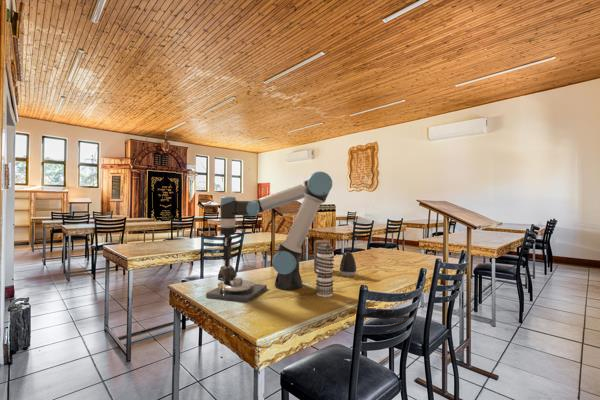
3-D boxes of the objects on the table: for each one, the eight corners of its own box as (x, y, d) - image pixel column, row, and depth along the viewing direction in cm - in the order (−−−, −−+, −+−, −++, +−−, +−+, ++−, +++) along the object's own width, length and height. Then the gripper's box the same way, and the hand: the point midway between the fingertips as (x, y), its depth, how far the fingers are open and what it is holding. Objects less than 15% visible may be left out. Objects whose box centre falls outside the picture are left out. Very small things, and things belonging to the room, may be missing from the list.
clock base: (266, 288, 156) (266, 275, 156) (247, 302, 135) (247, 287, 135) (229, 284, 163) (230, 272, 163) (206, 297, 142) (206, 282, 142)
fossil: (232, 280, 169) (224, 264, 170) (219, 287, 171) (211, 271, 172) (239, 275, 180) (232, 260, 181) (227, 281, 182) (220, 266, 183)
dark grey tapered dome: (344, 273, 192) (344, 249, 192) (359, 275, 186) (359, 251, 186) (336, 276, 184) (336, 251, 184) (351, 278, 177) (352, 253, 177)
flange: (258, 283, 155) (258, 266, 155) (246, 293, 140) (246, 273, 140) (225, 281, 159) (225, 264, 159) (210, 290, 143) (211, 271, 143)
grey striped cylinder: (313, 272, 193) (314, 241, 193) (315, 269, 202) (315, 239, 202) (329, 273, 191) (329, 242, 191) (330, 269, 201) (330, 240, 201)
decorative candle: (329, 298, 142) (329, 246, 142) (312, 295, 146) (312, 244, 146) (336, 293, 150) (337, 243, 150) (320, 290, 154) (320, 242, 154)
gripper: (222, 225, 158) (222, 269, 159) (217, 228, 145) (217, 275, 146) (236, 225, 159) (236, 269, 159) (233, 228, 146) (232, 275, 146)
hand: (227, 272), depth 153 cm, fingers closed
